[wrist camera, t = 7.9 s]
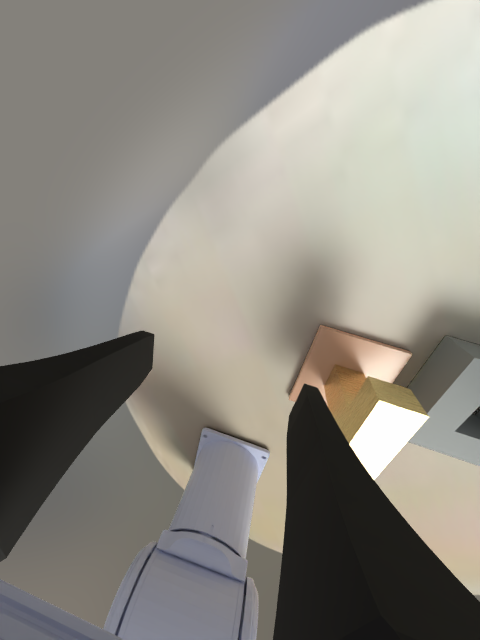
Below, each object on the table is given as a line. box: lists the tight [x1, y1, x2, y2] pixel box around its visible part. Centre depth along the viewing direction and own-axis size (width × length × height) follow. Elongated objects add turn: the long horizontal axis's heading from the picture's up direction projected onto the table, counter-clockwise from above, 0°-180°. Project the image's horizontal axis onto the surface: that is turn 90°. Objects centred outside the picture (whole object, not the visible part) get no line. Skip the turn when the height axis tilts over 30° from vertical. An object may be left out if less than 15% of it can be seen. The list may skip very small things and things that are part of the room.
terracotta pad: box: [289, 325, 412, 404], centre depth 19 cm, size 8×7×1 cm
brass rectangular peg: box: [324, 364, 429, 479], centre depth 16 cm, size 8×2×7 cm, turn 167°
